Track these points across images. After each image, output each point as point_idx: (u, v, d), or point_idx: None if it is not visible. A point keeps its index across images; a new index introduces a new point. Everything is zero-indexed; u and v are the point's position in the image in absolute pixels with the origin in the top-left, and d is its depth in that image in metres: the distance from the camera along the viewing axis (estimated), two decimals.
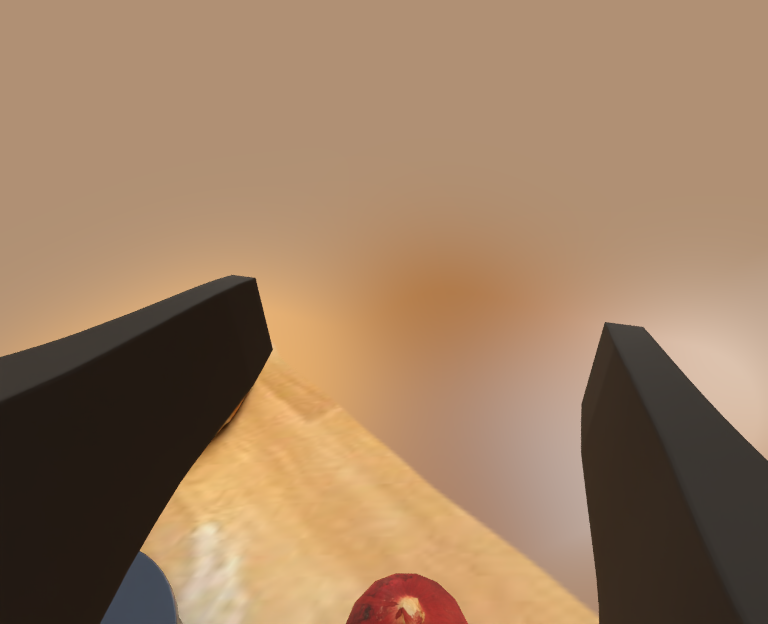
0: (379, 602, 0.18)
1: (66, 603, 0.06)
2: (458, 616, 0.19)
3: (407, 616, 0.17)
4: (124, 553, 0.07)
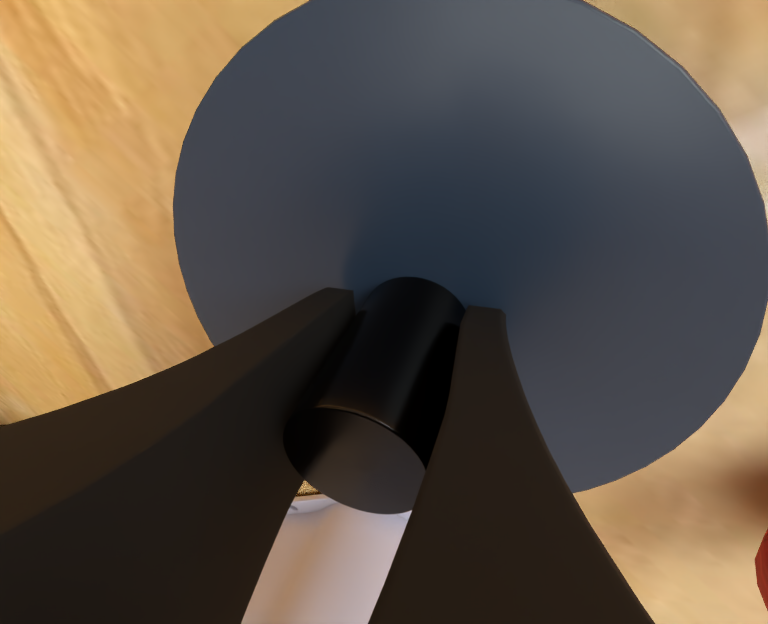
0: None
1: None
2: None
3: None
4: (242, 596, 0.07)
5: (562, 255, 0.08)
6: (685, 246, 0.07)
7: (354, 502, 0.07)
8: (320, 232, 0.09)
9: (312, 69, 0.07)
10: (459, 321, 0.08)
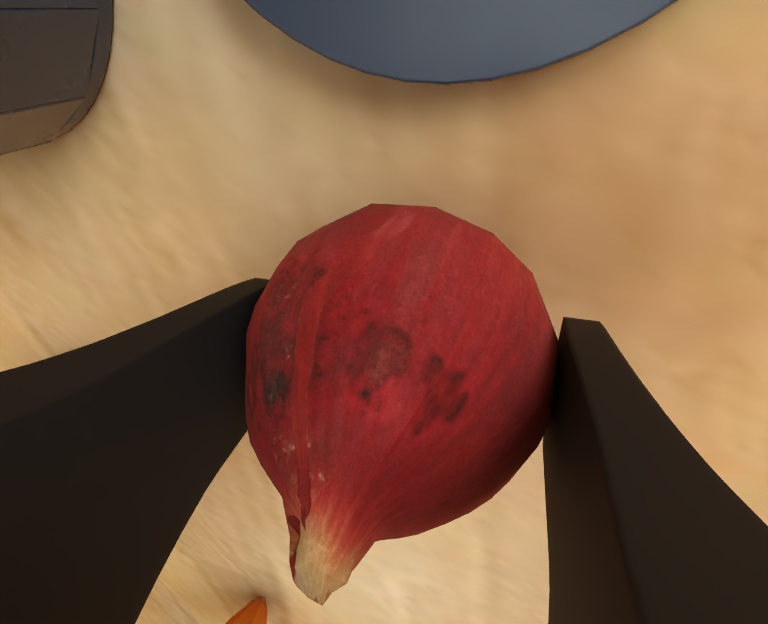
0: (299, 429, 0.06)
1: (97, 616, 0.06)
2: (488, 498, 0.07)
3: (292, 573, 0.06)
4: (152, 563, 0.07)
5: None
6: None
7: None
8: None
9: None
10: None
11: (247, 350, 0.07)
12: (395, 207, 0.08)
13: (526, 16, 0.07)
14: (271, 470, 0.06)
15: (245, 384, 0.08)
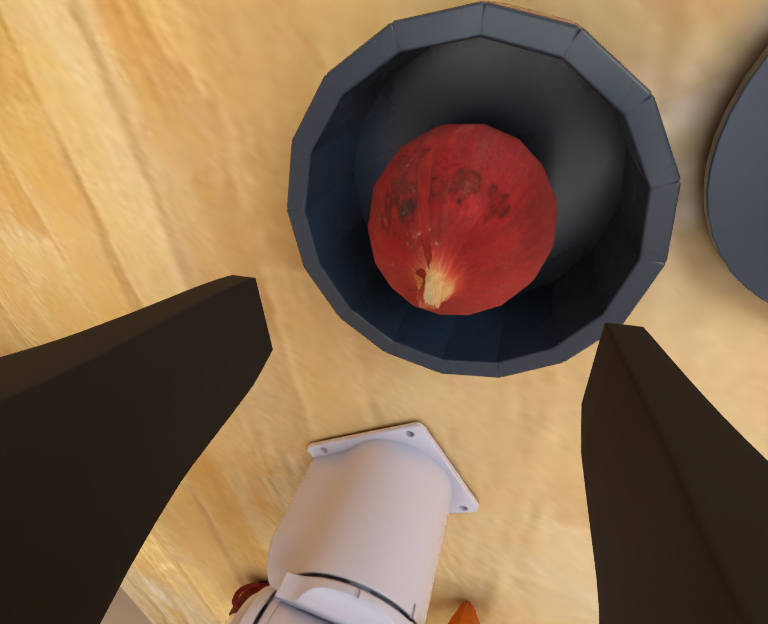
0: (423, 223, 0.11)
1: (66, 603, 0.06)
2: (517, 286, 0.13)
3: (421, 295, 0.11)
4: (124, 553, 0.07)
5: None
6: None
7: None
8: None
9: None
10: None
11: (376, 205, 0.13)
12: (461, 124, 0.13)
13: None
14: (402, 256, 0.12)
15: (372, 228, 0.13)
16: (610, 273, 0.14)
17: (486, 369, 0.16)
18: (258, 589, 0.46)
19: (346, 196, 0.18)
